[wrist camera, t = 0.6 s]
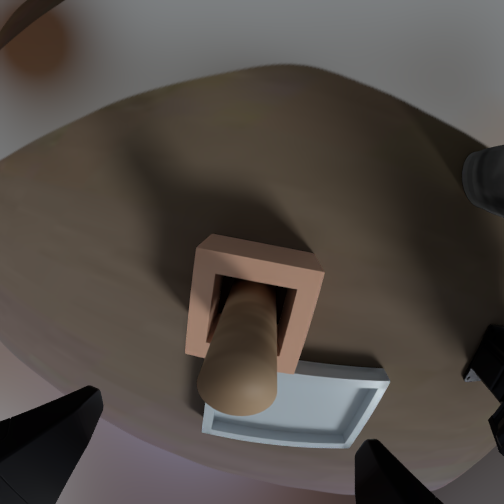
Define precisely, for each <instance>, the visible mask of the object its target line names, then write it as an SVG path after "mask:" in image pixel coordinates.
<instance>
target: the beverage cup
mask: <svg viewBox="0 0 504 504" xmlns="http://www.w3.org/2000/svg"><path fill="white" fill-rule="evenodd" d="M462 182H463V187H464V191H465V193H466V196H467V198H468V199H469V200H470V202H471V203H472V204H473V205H475V206H476V207H479V208H482V209H484V210H486V211H488V212H490V213H492V214H495V215H498V216H500V217H503V218H504V145H501V146H496V147H491V148H487V149H483V150H481V151H477V152H473V153H471V154H470V155H469V156H468V157H467V158H466V160H465V162H464V165H463V170H462Z"/></svg>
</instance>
